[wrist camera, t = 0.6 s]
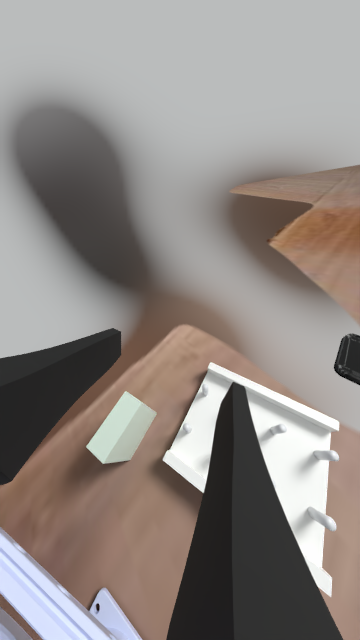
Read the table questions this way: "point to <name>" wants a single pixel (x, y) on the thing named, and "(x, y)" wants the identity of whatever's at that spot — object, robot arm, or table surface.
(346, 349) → the phone
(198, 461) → the dish rack
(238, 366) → the table surface
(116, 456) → the block
